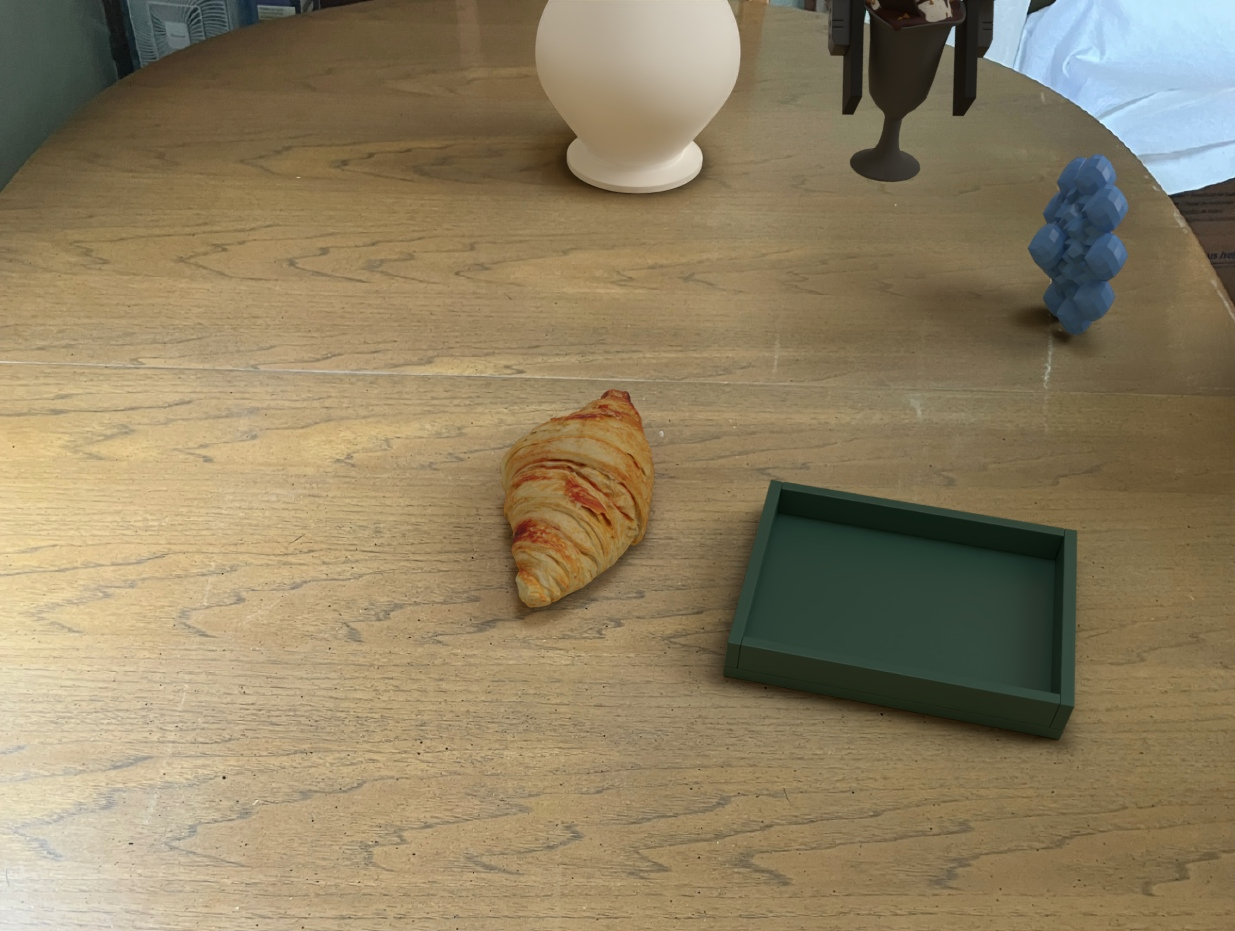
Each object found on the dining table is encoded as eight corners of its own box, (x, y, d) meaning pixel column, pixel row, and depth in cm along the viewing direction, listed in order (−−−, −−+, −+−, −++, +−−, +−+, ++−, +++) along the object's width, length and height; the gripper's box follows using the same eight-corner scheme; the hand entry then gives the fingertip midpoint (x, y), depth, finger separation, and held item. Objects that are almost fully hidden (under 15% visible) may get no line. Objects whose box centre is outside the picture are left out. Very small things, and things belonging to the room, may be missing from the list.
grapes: (983, 281, 102) (1024, 130, 92) (1062, 277, 102) (1109, 127, 93) (1030, 360, 95) (1079, 205, 85) (1114, 355, 95) (1172, 201, 86)
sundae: (905, 139, 89) (952, -108, 78) (948, 181, 85) (1005, -72, 74) (822, 150, 88) (857, -99, 76) (862, 193, 84) (905, -62, 72)
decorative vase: (499, 155, 114) (481, -178, 95) (639, 102, 122) (649, -216, 102) (628, 228, 106) (638, -119, 87) (770, 166, 114) (808, -165, 94)
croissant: (578, 670, 78) (639, 599, 71) (436, 591, 75) (487, 510, 69) (651, 464, 90) (708, 389, 84) (532, 390, 88) (582, 307, 82)
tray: (1064, 563, 80) (1077, 530, 78) (1059, 739, 70) (1075, 706, 68) (765, 513, 82) (770, 478, 80) (722, 675, 73) (726, 642, 71)
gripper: (1049, -233, 82) (1036, 132, 84) (755, -238, 81) (750, 129, 84) (1096, -322, 74) (1080, 81, 77) (772, -328, 74) (766, 77, 76)
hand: (908, 105), depth 80 cm, fingers closed on sundae, 7 cm apart
